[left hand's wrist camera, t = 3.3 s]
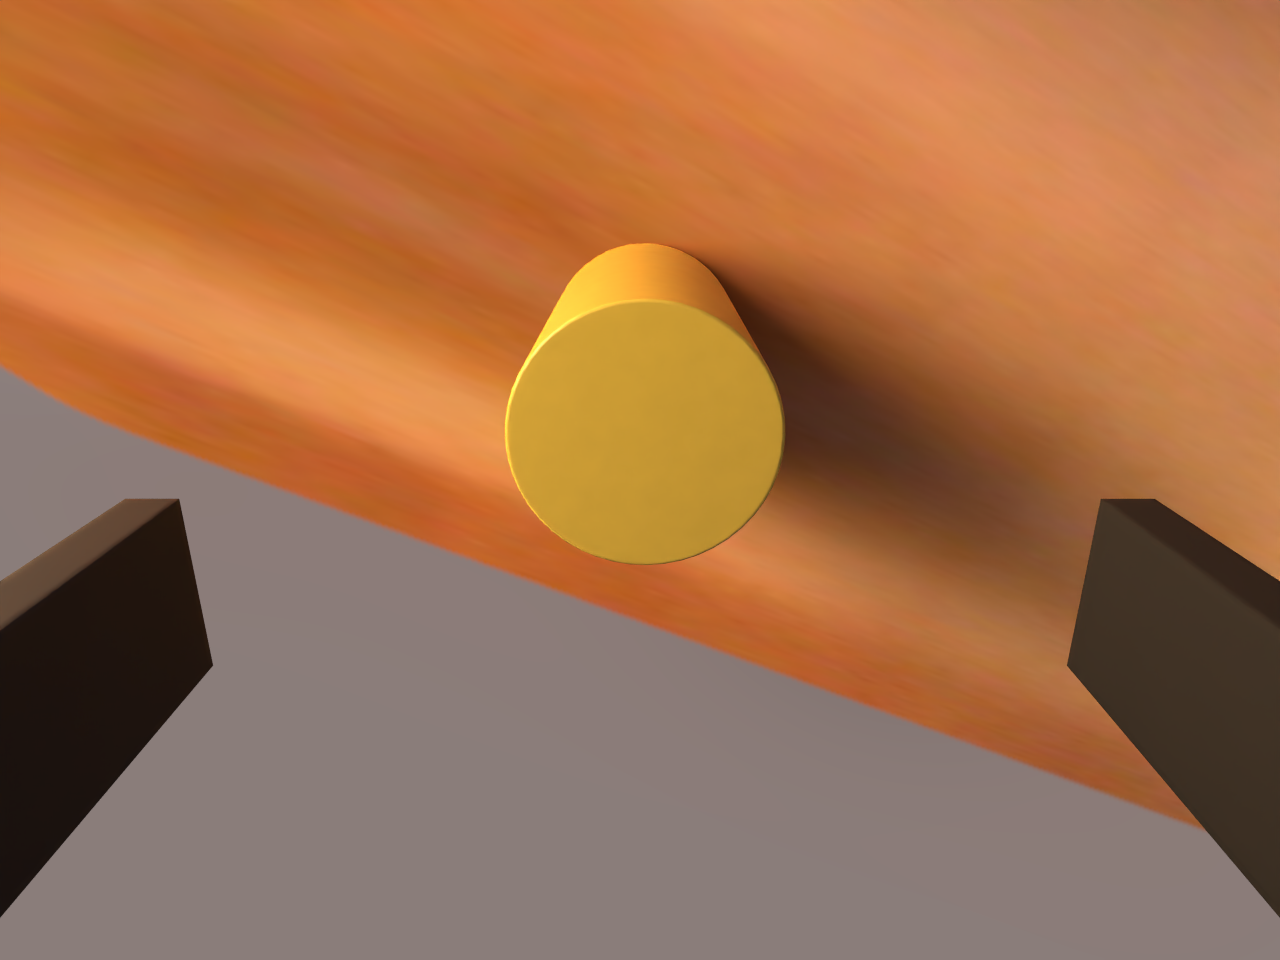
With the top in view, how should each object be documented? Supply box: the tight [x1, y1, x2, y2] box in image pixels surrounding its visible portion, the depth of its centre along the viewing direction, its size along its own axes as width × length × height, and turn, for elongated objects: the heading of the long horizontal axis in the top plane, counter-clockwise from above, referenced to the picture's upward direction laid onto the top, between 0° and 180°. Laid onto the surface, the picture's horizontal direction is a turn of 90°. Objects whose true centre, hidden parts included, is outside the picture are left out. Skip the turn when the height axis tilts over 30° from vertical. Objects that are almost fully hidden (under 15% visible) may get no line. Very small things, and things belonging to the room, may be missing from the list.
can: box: [505, 243, 785, 565], centre depth 22 cm, size 6×6×10 cm
